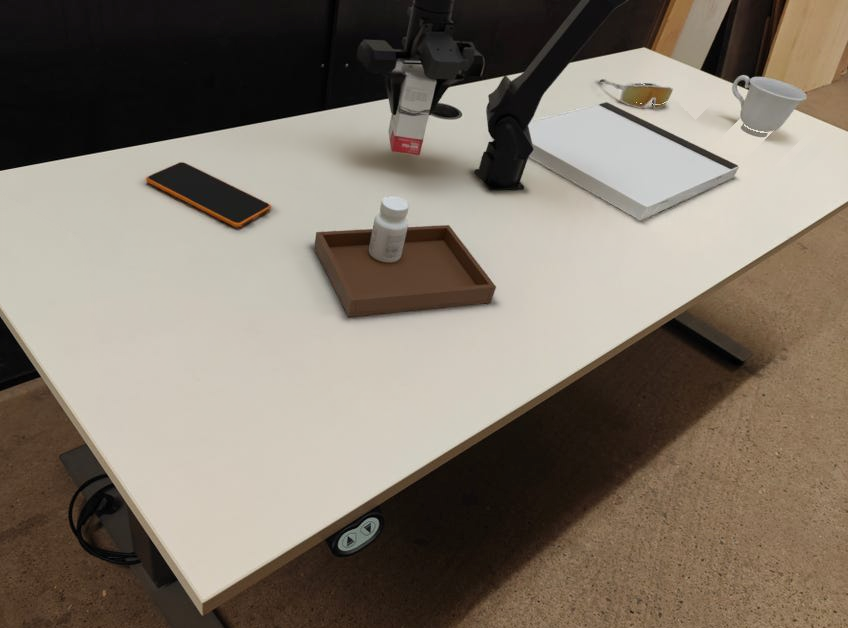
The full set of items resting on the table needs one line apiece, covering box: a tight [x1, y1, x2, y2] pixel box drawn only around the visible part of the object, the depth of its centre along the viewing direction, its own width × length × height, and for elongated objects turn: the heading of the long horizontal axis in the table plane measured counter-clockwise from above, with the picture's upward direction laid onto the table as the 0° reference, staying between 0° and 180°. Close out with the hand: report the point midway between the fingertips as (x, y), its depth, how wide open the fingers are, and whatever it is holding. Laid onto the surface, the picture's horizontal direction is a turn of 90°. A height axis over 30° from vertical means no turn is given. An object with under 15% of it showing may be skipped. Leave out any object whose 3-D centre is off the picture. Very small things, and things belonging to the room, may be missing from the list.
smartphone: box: [145, 161, 272, 228], centre depth 93 cm, size 8×17×1 cm, turn 58°
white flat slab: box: [528, 101, 740, 221], centre depth 126 cm, size 35×2×31 cm
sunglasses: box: [599, 78, 674, 110], centre depth 154 cm, size 14×15×5 cm
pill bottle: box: [369, 195, 410, 263], centre depth 86 cm, size 4×4×8 cm
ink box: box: [387, 64, 436, 156], centre depth 105 cm, size 9×5×12 cm, turn 1°
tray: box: [313, 224, 497, 318], centre depth 86 cm, size 19×14×2 cm
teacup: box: [731, 74, 808, 138], centre depth 148 cm, size 12×15×10 cm
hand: (410, 114), depth 105 cm, fingers closed on ink box, 6 cm apart
